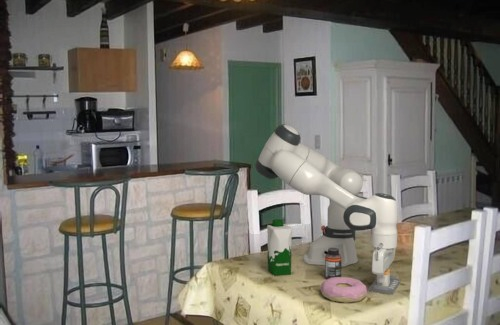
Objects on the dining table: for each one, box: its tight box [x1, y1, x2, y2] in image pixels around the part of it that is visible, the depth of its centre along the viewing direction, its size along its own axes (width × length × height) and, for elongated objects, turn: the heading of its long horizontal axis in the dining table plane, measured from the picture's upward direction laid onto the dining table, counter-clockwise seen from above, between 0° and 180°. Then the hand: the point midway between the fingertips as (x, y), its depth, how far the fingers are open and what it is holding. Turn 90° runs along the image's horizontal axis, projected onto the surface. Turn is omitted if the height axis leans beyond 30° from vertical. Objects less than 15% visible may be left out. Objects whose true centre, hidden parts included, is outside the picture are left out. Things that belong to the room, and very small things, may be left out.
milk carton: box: [266, 218, 293, 277], centre depth 195 cm, size 9×9×20 cm
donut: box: [320, 276, 368, 304], centre depth 170 cm, size 16×15×5 cm
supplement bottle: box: [324, 248, 342, 280], centre depth 188 cm, size 6×6×11 cm
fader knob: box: [376, 269, 391, 286], centre depth 176 cm, size 4×4×5 cm
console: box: [368, 274, 401, 295], centre depth 179 cm, size 14×8×2 cm, turn 153°
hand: (383, 279), depth 176 cm, fingers closed on fader knob, 4 cm apart
